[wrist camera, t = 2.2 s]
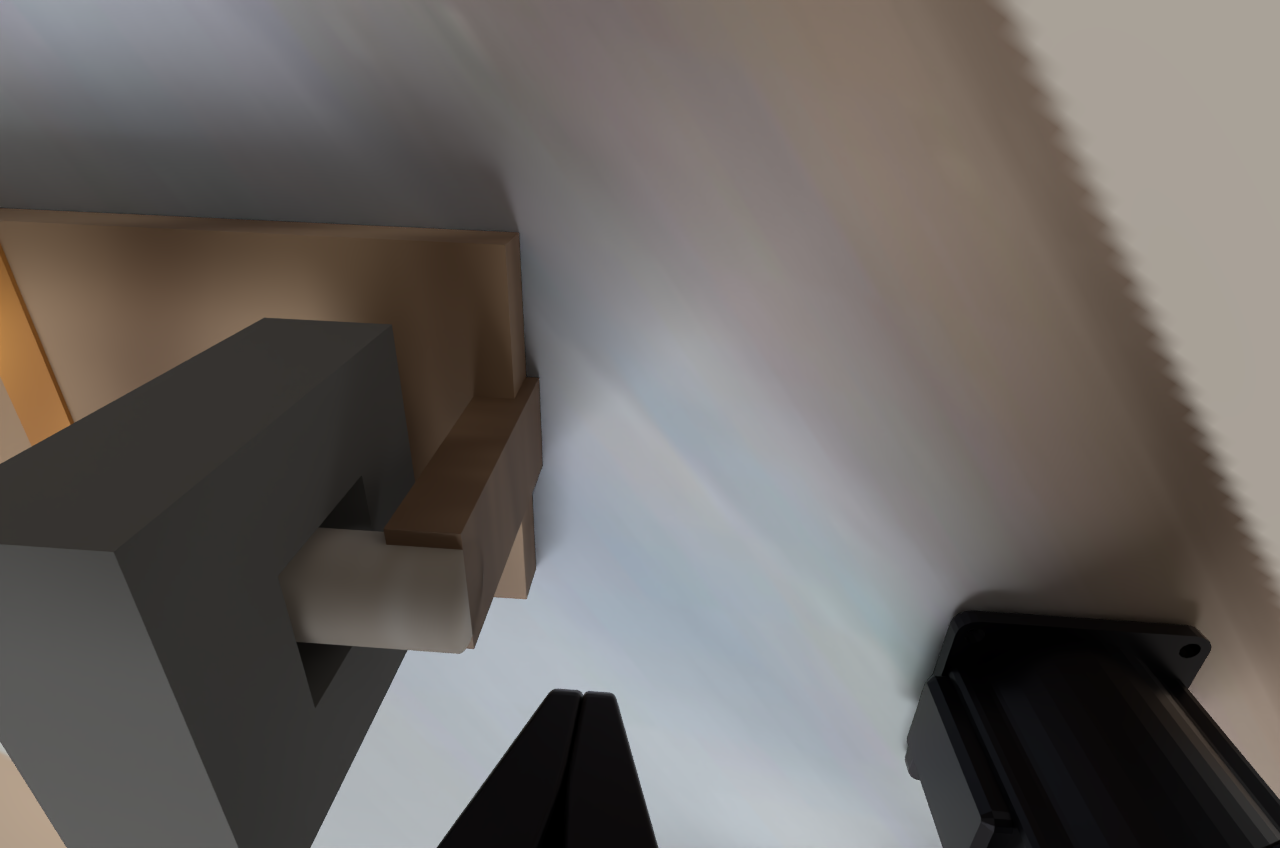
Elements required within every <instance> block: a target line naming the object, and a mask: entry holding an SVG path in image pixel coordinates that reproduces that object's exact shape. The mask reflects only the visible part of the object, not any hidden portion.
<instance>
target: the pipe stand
mask: <svg viewBox="0 0 1280 848" xmlns="http://www.w3.org/2000/svg"><path fill="white" fill-rule="evenodd" d="M263 318H281V319H300V320H319V321H338V322H356V323H375V324H392V329H393V335H394V342H395V349H396V356H397V363H398V369H399V376H400V383H401V390H402V396H403V403H404V410H405V417H406V424H407V430H408V437H409V444H410V451H411V458H412V464H413V471H414V478H415V483H414V485H413V486H412V488H411V489H410V491H409V492H408V494H407V495H406V497H405V498H404V499H403V501H402V502H401V504H400V505H399V507H398V508H397V510H396V511H395V513H394V514H393V516H392V517H391V519H390V520H389V522H388V523H387V524H386V526H385V527H384V532H379V531H363V530H348V529H333V528H317V530H316V531H315V532H314V533H313V534H312V536H311V537H310V538H309V539H308V540H307V542H306V543H305V544H304V545H303V547H302V548H301V549H300V550H299V551H298V553H297V554H296V555H295V556H294V557H293V559H292V560H291V561H290V562H289V563H288V565H287V566H286V567H285V568H284V569H283V571H282V572H281V573H280V574H279V575H278V579H279V583H280V586H281V590H282V593H283V597H284V600H285V604H286V607H287V611H288V615H289V618H290V622H291V625H292V629H293V632H294V636H295V639H296V642H305V643H319V644H332V645H346V646H360V647H373V648H387V649H401V650H414V651H428V652H442V653H456V654H460V653H462V652H464V650H465V649H466V648H467V649H474V648H475V645H476V642H477V640H478V637H479V634H480V632H481V629H482V626H483V624H484V621H485V618H486V616H487V613H488V610H489V608H490V605H491V602H492V600H493V597H501V598H515V599H527V596H528V593H529V590H530V587H531V583H532V580H533V577H534V574H535V570H536V559H535V539H534V519H533V500H532V493H533V490H534V488H535V485H536V482H537V480H538V477H539V474H540V472H541V469H542V466H543V462H542V437H541V413H540V388H539V378H536V377H526V361H525V341H524V321H523V301H522V282H521V262H520V242H519V232H498V231H477V230H455V229H434V228H413V227H392V226H370V225H349V224H328V223H307V222H286V221H264V220H243V219H222V218H201V217H180V216H158V215H137V214H116V213H95V212H74V211H52V210H31V209H10V208H0V464H1V463H3V462H5V461H6V460H8V459H10V458H12V457H14V456H15V455H17V454H19V453H21V452H23V451H24V450H26V449H28V448H30V447H32V446H33V445H35V444H37V443H39V442H41V441H42V440H44V439H46V438H48V437H50V436H51V435H53V434H55V433H57V432H59V431H60V430H62V429H64V428H66V427H68V426H69V425H71V424H73V423H75V422H77V421H78V420H80V419H82V418H84V417H86V416H88V415H89V414H91V413H93V412H95V411H97V410H98V409H100V408H102V407H104V406H106V405H107V404H109V403H111V402H113V401H115V400H116V399H118V398H120V397H122V396H124V395H125V394H127V393H129V392H131V391H133V390H134V389H136V388H138V387H140V386H142V385H143V384H145V383H147V382H149V381H151V380H152V379H154V378H156V377H158V376H160V375H161V374H163V373H165V372H167V371H169V370H170V369H172V368H174V367H176V366H178V365H180V364H181V363H183V362H185V361H187V360H189V359H190V358H192V357H194V356H196V355H198V354H199V353H201V352H203V351H205V350H207V349H208V348H210V347H212V346H214V345H216V344H217V343H219V342H221V341H223V340H225V339H226V338H228V337H230V336H232V335H234V334H235V333H237V332H239V331H241V330H243V329H244V328H246V327H248V326H250V325H252V324H253V323H255V322H257V321H259V320H261V319H263Z"/></svg>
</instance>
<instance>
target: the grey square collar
mask: <svg viewBox="0 0 1280 848" xmlns="http://www.w3.org/2000/svg"><path fill="white" fill-rule="evenodd" d="M414 483H415V478H414V471H413V464H412V458H411V451H410V444H409V437H408V430H407V424H406V417H405V410H404V403H403V396H402V390H401V383H400V376H399V369H398V363H397V356H396V349H395V342H394V335H393V329H392V324H375V323H356V322H338V321H319V320H300V319H281V318H263V319H261V320H259V321H257V322H255V323H253V324H252V325H250V326H248V327H246V328H244V329H243V330H241V331H239V332H237V333H235V334H234V335H232V336H230V337H228V338H226V339H225V340H223V341H221V342H219V343H217V344H216V345H214V346H212V347H210V348H208V349H207V350H205V351H203V352H201V353H199V354H198V355H196V356H194V357H192V358H190V359H189V360H187V361H185V362H183V363H181V364H180V365H178V366H176V367H174V368H172V369H170V370H169V371H167V372H165V373H163V374H161V375H160V376H158V377H156V378H154V379H152V380H151V381H149V382H147V383H145V384H143V385H142V386H140V387H138V388H136V389H134V390H133V391H131V392H129V393H127V394H125V395H124V396H122V397H120V398H118V399H116V400H115V401H113V402H111V403H109V404H107V405H106V406H104V407H102V408H100V409H98V410H97V411H95V412H93V413H91V414H89V415H88V416H86V417H84V418H82V419H80V420H78V421H77V422H75V423H73V424H71V425H69V426H68V427H66V428H64V429H62V430H60V431H59V432H57V433H55V434H53V435H51V436H50V437H48V438H46V439H44V440H42V441H41V442H39V443H37V444H35V445H33V446H32V447H30V448H28V449H26V450H24V451H23V452H21V453H19V454H17V455H15V456H14V457H12V458H10V459H8V460H6V461H5V462H3V463H1V464H0V742H1V744H2V745H3V747H4V748H5V750H6V752H7V753H8V755H9V756H10V758H11V760H12V761H13V763H14V764H15V766H16V767H17V769H18V771H19V772H20V774H21V775H22V777H23V779H24V780H25V782H26V783H27V785H28V787H29V788H30V790H31V791H32V793H33V794H34V796H35V798H36V799H37V801H38V803H39V804H40V806H41V807H42V809H43V810H44V812H45V814H46V815H47V817H48V819H49V820H50V822H51V823H52V825H53V826H54V828H55V830H56V831H57V833H58V834H59V836H60V838H61V839H62V841H63V842H64V844H65V846H66V847H67V848H310V847H311V845H312V843H313V841H314V839H315V837H316V835H317V833H318V831H319V829H320V827H321V825H322V823H323V821H324V819H325V817H326V815H327V813H328V811H329V809H330V807H331V805H332V803H333V801H334V799H335V797H336V794H337V792H338V790H339V788H340V786H341V784H342V782H343V780H344V778H345V776H346V774H347V772H348V770H349V768H350V766H351V764H352V762H353V760H354V758H355V756H356V754H357V752H358V750H359V748H360V746H361V744H362V742H363V740H364V738H365V735H366V733H367V731H368V729H369V727H370V725H371V723H372V721H373V719H374V717H375V715H376V713H377V711H378V709H379V707H380V705H381V703H382V701H383V699H384V697H385V695H386V693H387V691H388V689H389V687H390V685H391V683H392V681H393V679H394V677H395V674H396V672H397V670H398V668H399V666H400V664H401V662H402V660H403V658H404V656H405V654H406V652H407V650H401V649H387V648H373V647H360V646H346V645H332V644H319V643H305V642H296V639H295V636H294V632H293V629H292V625H291V622H290V618H289V615H288V611H287V607H286V604H285V600H284V597H283V593H282V590H281V586H280V583H279V579H278V575H279V574H280V573H281V572H282V571H283V569H284V568H285V567H286V566H287V565H288V563H289V562H290V561H291V560H292V559H293V557H294V556H295V555H296V554H297V553H298V551H299V550H300V549H301V548H302V547H303V545H304V544H305V543H306V542H307V540H308V539H309V538H310V537H311V536H312V534H313V533H314V532H315V531H316V530H317V528H333V529H348V530H363V531H379V532H384V527H385V526H386V524H387V523H388V522H389V520H390V519H391V517H392V516H393V514H394V513H395V511H396V510H397V508H398V507H399V505H400V504H401V502H402V501H403V499H404V498H405V497H406V495H407V494H408V492H409V491H410V489H411V488H412V486H413V485H414Z"/></svg>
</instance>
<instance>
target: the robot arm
mask: <svg viewBox="0 0 1280 848" xmlns="http://www.w3.org/2000/svg"><path fill="white" fill-rule="evenodd" d="M971 629H975V630H973V631H970V632H968V631H969V630H971ZM1210 650H1211V644H1210V642H1209V640H1208V639H1207V638H1206V637H1205V636H1204V635H1203V634H1202V633H1201V632H1200V631H1199V630H1198V629H1197V628H1195V627H1193V626H1188V625H1175V624H1161V623H1146V622H1132V621H1117V620H1102V619H1088V618H1073V617H1058V616H1044V615H1029V614H1014V613H1000V612H985V611H966V612H963V613H960V614H958V615H957V616H956V617H954V618H953V619H952V621H951V623H950V625H949V628H948V631H947V634H946V637H945V640H944V643H943V646H942V649H941V652H940V655H939V658H938V661H937V664H936V667H935V670H934V673H933V675H932V676H931V677H930V678H929V679H928V680H927V682H926V683H925V685H924V688H923V691H922V694H921V697H920V700H919V703H918V706H917V709H916V712H915V715H914V718H913V721H912V724H911V727H910V730H909V733H908V736H907V742H908V745H909V747H908V750H907V753H906V756H905V763H906V766H907V769H908V772H909V774H910V776H911V777H913V778H914V779H916V780H920V781H921V784H922V787H923V790H924V793H925V796H926V799H927V802H928V805H929V808H930V811H931V814H932V817H933V820H934V823H935V826H936V829H937V832H938V835H939V838H940V841H941V844H942V846H943V848H1280V799H1279V798H1278V797H1277V796H1276V795H1275V793H1274V792H1273V791H1272V790H1271V789H1270V787H1269V786H1268V785H1267V784H1266V783H1265V781H1264V780H1263V779H1262V778H1261V776H1260V775H1259V774H1258V773H1257V772H1256V770H1255V769H1254V768H1253V767H1252V766H1251V764H1250V763H1249V762H1248V761H1247V760H1246V758H1245V757H1244V756H1243V755H1242V754H1241V752H1240V751H1239V750H1238V749H1237V748H1236V746H1235V745H1234V744H1233V743H1232V742H1231V740H1230V739H1229V738H1228V737H1227V736H1226V734H1225V733H1224V732H1223V731H1222V729H1221V728H1220V727H1219V726H1218V725H1217V723H1216V722H1215V721H1214V720H1213V719H1212V717H1211V716H1210V715H1209V714H1208V713H1207V711H1206V710H1205V709H1204V708H1203V707H1202V705H1201V704H1200V703H1199V702H1198V701H1197V699H1196V698H1195V697H1194V696H1193V695H1192V693H1191V692H1190V691H1189V690H1188V688H1189V686H1190V685H1191V683H1192V681H1193V679H1194V678H1195V676H1196V674H1197V673H1198V671H1199V669H1200V668H1201V666H1202V664H1203V663H1204V661H1205V659H1206V658H1207V656H1208V654H1209V653H1210ZM437 848H658V845H657V841H656V838H655V834H654V831H653V827H652V824H651V820H650V817H649V813H648V809H647V806H646V802H645V799H644V795H643V792H642V788H641V785H640V781H639V778H638V774H637V770H636V767H635V763H634V760H633V756H632V753H631V749H630V746H629V742H628V738H627V735H626V731H625V728H624V724H623V721H622V717H621V714H620V710H619V706H618V703H617V699H616V697H615V695H614V694H612V693H608V692H595V691H588V692H586V693H585V694H584V695H583V694H582V692H580V691H578V690H568V689H554V690H552V691H551V692H550V693H549V694H548V695H547V696H546V698H545V699H544V700H543V702H542V703H541V704H540V706H539V707H538V709H537V710H536V711H535V713H534V714H533V715H532V717H531V718H530V720H529V721H528V722H527V724H526V725H525V726H524V728H523V729H522V731H521V732H520V733H519V735H518V736H517V738H516V739H515V740H514V742H513V743H512V744H511V746H510V747H509V749H508V750H507V751H506V753H505V754H504V755H503V757H502V758H501V760H500V761H499V762H498V764H497V765H496V766H495V768H494V769H493V771H492V772H491V773H490V775H489V776H488V778H487V779H486V780H485V782H484V783H483V784H482V786H481V787H480V789H479V790H478V791H477V793H476V794H475V795H474V797H473V798H472V800H471V801H470V802H469V804H468V805H467V807H466V808H465V809H464V811H463V812H462V813H461V815H460V816H459V818H458V819H457V820H456V822H455V823H454V824H453V826H452V827H451V829H450V830H449V831H448V833H447V834H446V835H445V837H444V838H443V840H442V841H441V842H440V844H439V845H438V847H437Z"/></svg>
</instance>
